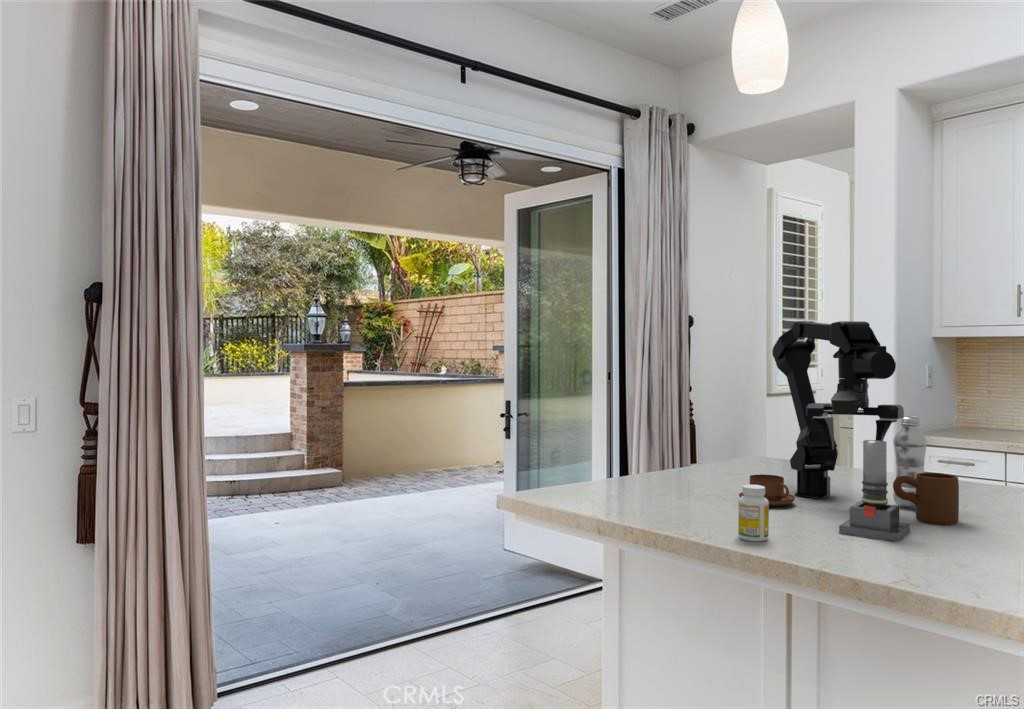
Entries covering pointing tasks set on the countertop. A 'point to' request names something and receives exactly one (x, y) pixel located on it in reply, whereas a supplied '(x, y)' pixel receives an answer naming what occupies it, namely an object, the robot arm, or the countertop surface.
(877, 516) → the stand sleeve
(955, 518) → the mug
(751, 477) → the cup and saucer
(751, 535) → the supplement bottle
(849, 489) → the countertop surface
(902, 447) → the plastic bottle
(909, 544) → the countertop surface
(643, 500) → the countertop surface
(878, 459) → the grey ridged cylinder
